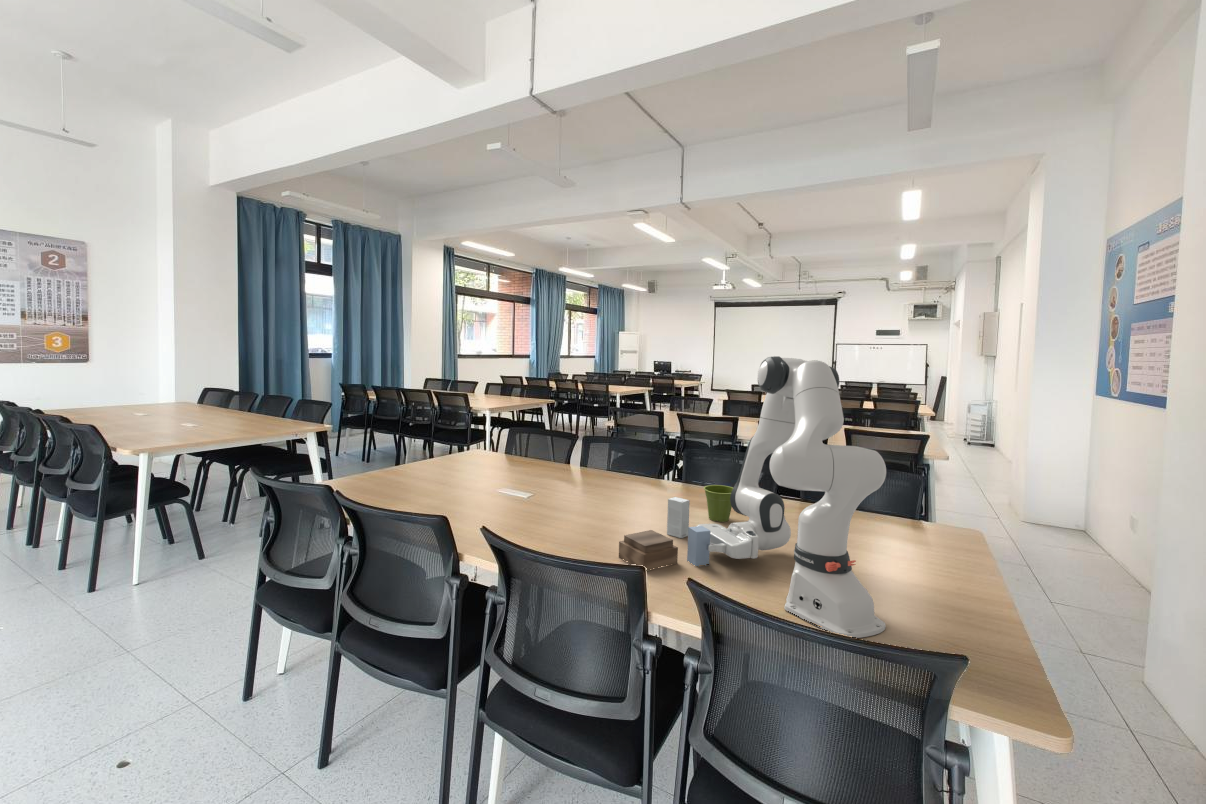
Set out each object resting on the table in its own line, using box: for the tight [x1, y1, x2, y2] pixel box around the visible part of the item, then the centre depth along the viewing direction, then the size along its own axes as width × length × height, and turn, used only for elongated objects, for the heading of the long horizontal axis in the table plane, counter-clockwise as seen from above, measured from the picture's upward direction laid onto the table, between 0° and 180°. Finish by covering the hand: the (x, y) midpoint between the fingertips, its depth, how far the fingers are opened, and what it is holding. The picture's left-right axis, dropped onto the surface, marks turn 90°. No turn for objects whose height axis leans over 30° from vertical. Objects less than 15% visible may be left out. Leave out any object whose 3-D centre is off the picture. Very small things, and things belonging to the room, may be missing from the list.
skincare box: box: [666, 496, 691, 539], centre depth 179 cm, size 6×4×12 cm
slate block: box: [686, 525, 711, 567], centre depth 156 cm, size 4×4×10 cm
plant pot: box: [703, 484, 734, 523], centre depth 197 cm, size 12×12×11 cm
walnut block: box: [618, 529, 679, 571], centre depth 157 cm, size 12×12×7 cm
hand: (698, 542), depth 155 cm, fingers open, 8 cm apart
